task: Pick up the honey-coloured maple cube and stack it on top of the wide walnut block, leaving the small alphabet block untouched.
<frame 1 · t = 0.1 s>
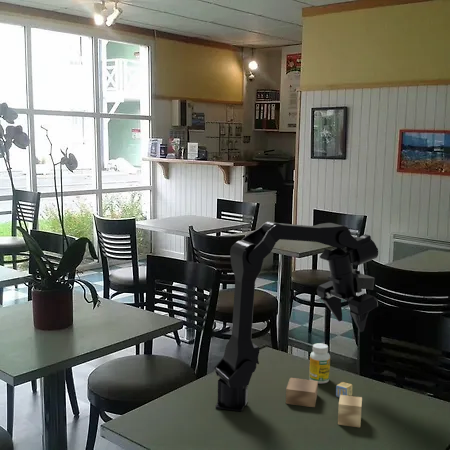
hand: (350, 325, 152), 15 cm above the table, tool pointing down, fingers open, 9 cm apart
maple cube: (349, 421, 133), on the table
alphabet block: (343, 396, 146), on the table
supplement bottle: (319, 380, 155), on the table
walnut base block: (301, 400, 143), on the table
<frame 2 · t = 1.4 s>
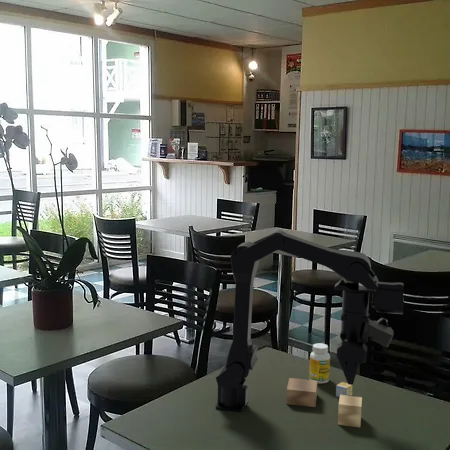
hand: (351, 376, 131), 11 cm above the table, tool pointing down, fingers open, 9 cm apart
nothing on the table moved.
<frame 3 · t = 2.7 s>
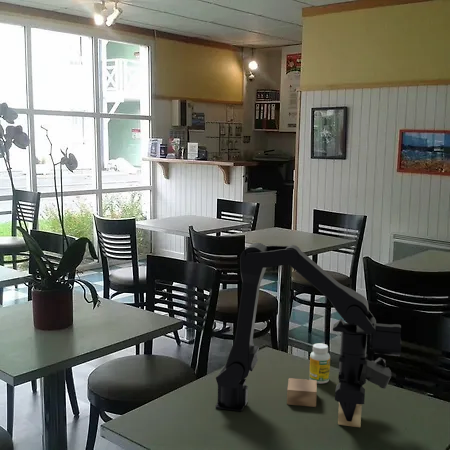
hand: (349, 415, 132), 1 cm above the table, tool pointing down, fingers closed on maple cube, 5 cm apart
maple cube: (349, 420, 133), on the table, touching gripper
everything else where it was.
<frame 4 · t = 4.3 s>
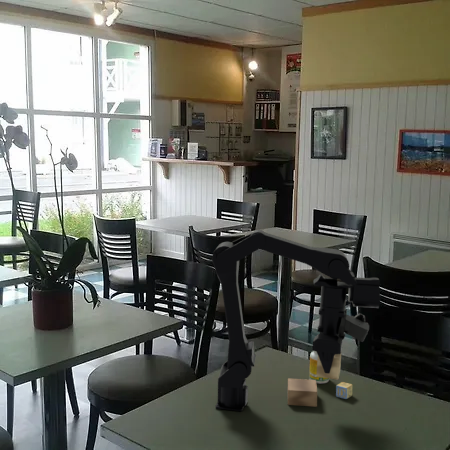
hand: (328, 368, 136), 11 cm above the table, tool pointing down, fingers closed on maple cube, 5 cm apart
maple cube: (328, 374, 136), point 9 cm above the table, touching gripper
everything else where it was.
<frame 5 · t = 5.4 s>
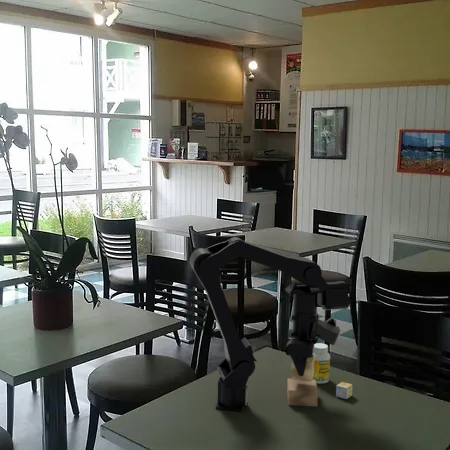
hand: (302, 371, 142), 7 cm above the table, tool pointing down, fingers closed on maple cube, 5 cm apart
maple cube: (302, 376, 142), point 6 cm above the table, touching gripper
everything else where it was.
when the fingers open (6 cm above the table, at t = 6.0 s): maple cube drops 1 cm, resting on walnut base block.
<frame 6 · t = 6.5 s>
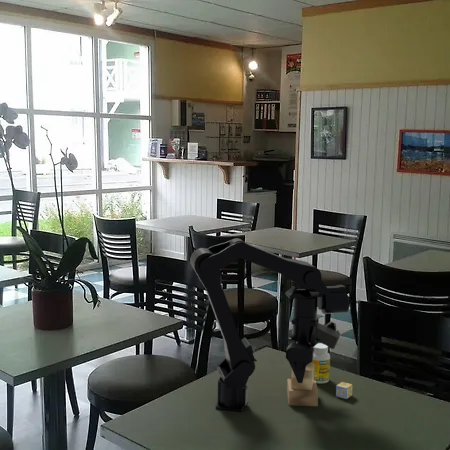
hand: (302, 375, 142), 6 cm above the table, tool pointing down, fingers open, 9 cm apart
maple cube: (302, 385, 143), point 4 cm above the table, touching walnut base block
walnut base block: (301, 400, 143), on the table, touching maple cube
everything else where it was.
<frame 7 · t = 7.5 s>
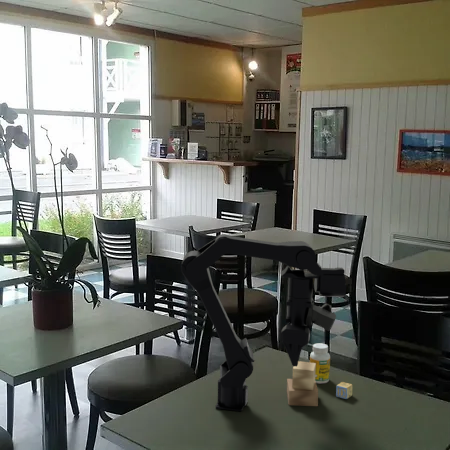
hand: (296, 358, 138), 12 cm above the table, tool pointing down, fingers open, 9 cm apart
nothing on the table moved.
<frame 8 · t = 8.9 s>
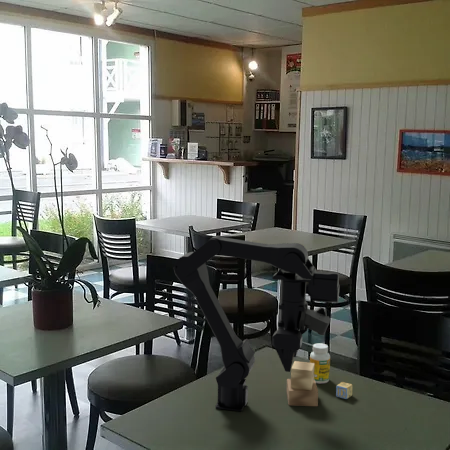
hand: (290, 363, 134), 12 cm above the table, tool pointing down, fingers open, 9 cm apart
nothing on the table moved.
at the end: maple cube 0.0 cm off-centre on the walnut base block, point 4.0 cm above the walnut base block's base; maple cube tilted 0°; the gripper is holding nothing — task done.
